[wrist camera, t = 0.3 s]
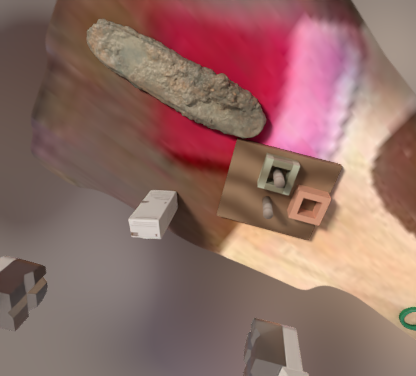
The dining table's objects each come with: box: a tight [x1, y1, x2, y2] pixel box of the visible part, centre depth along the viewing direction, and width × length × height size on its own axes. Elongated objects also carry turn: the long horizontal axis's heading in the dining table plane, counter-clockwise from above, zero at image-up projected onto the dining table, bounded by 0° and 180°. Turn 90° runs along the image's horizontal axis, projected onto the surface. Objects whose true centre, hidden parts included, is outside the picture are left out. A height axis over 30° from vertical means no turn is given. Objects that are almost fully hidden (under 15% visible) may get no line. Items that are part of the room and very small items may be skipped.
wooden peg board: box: [217, 138, 342, 240], centre depth 55 cm, size 17×20×8 cm
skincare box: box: [128, 190, 178, 239], centre depth 58 cm, size 6×4×12 cm
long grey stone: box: [87, 19, 266, 139], centre depth 51 cm, size 35×5×10 cm
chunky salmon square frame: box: [287, 184, 331, 226], centre depth 55 cm, size 6×6×3 cm
